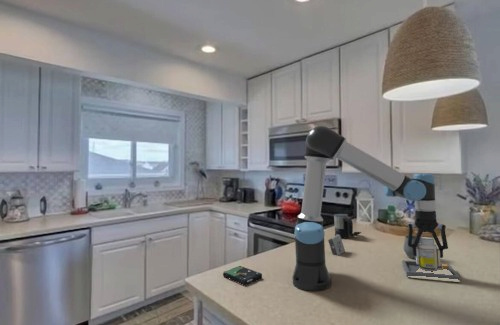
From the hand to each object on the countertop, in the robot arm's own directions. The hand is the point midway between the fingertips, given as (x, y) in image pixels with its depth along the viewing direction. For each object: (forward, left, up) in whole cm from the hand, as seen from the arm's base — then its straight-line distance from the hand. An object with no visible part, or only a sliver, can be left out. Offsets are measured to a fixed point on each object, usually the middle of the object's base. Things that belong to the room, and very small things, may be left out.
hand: (428, 264), depth 118 cm
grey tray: (0, 0, -4) cm, 4 cm away
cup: (-2, +22, -4) cm, 22 cm away
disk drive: (-74, -27, -5) cm, 79 cm away
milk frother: (-35, +58, -4) cm, 68 cm away
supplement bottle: (0, 0, -2) cm, 2 cm away
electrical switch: (-39, +20, -4) cm, 44 cm away
